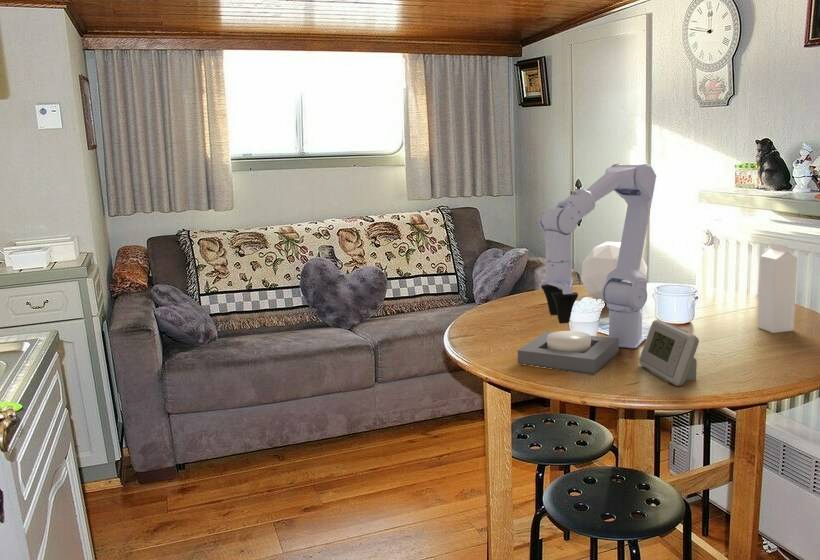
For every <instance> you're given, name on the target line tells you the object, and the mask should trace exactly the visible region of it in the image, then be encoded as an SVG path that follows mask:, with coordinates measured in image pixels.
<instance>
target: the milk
mask: <svg viewBox="0 0 820 560" xmlns="http://www.w3.org/2000/svg"><path fill="white" fill-rule="evenodd" d="M797 271H798V257H797V256H795V255H794V254H792V253H791V252H788V245H785V244H782V243H781V244H780V243H775V242H771V244H770V248H769V249H767V251H766V252H764V253H762V254H761V255H760V261H759V282H758V305H757V307H758V308H757V329H761V330H764V331H766V332H769V333H772V334H777V333H785V332H786V333H787V332H793V331H794V328H795V327H794V325H795V308H796V307H795V306H796V287H797Z"/></svg>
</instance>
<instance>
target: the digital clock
mask: <svg viewBox="0 0 820 560" xmlns="http://www.w3.org/2000/svg"><path fill="white" fill-rule="evenodd" d="M644 341H645V342H644V343H643V344H644V345H643V347H642V351H641V353H640V356H639V359H638V363H639V364H640V366H642V367H643V368H645V369H646V370H647V371H648V372H650V373H651V374H653V375H654V376H657V377H659V378H660V379H662V380H663V381H665V382H667V383H671V384H672V385H673V386H677V387H681V386H682V385H684V384H685V382H686V381H687V382H688V381H694V380H697V368H698V367H697V365H698V363H697V362H698V361H697V359H696V358H695V354H696V352H697V350H698V346H699V343H700V340H699V338H698V337H697V336H696V335H695V334H692V333H690V332H689V331H688V330H685V329H683V328H681V327H679V326H676V325H674V324H672V323H669V322H667V321H666V322H665V321H663V320H660V319H655V320H653V321H652V323H651V325H650V328H649V330H648V333H647V336H646V339H645V340H644Z"/></svg>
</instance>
